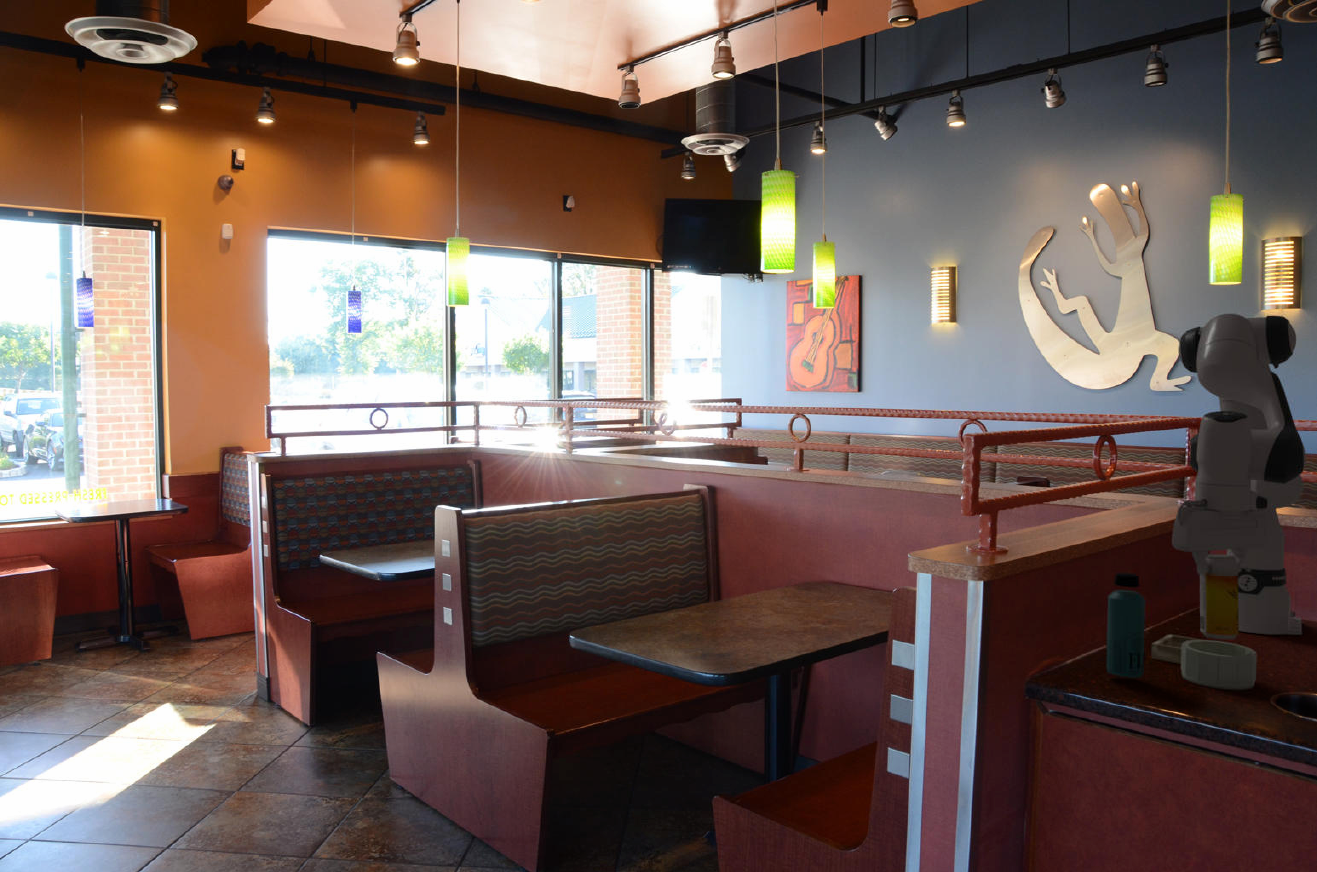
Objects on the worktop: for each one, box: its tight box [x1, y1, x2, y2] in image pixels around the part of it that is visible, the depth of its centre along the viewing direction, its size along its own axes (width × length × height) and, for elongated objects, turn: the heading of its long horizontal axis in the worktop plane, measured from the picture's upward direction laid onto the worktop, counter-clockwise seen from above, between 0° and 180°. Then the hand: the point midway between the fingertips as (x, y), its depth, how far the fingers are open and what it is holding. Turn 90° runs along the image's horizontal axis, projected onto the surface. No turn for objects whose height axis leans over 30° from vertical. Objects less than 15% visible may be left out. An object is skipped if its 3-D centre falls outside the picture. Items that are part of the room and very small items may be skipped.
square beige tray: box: [1150, 633, 1202, 665], centre depth 187 cm, size 11×11×4 cm
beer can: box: [1199, 553, 1240, 640], centre depth 173 cm, size 6×6×15 cm
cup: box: [1180, 639, 1258, 691], centre depth 173 cm, size 12×12×6 cm
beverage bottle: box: [1105, 572, 1146, 678], centre depth 172 cm, size 6×7×20 cm
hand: (1218, 573), depth 173 cm, fingers closed on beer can, 6 cm apart
